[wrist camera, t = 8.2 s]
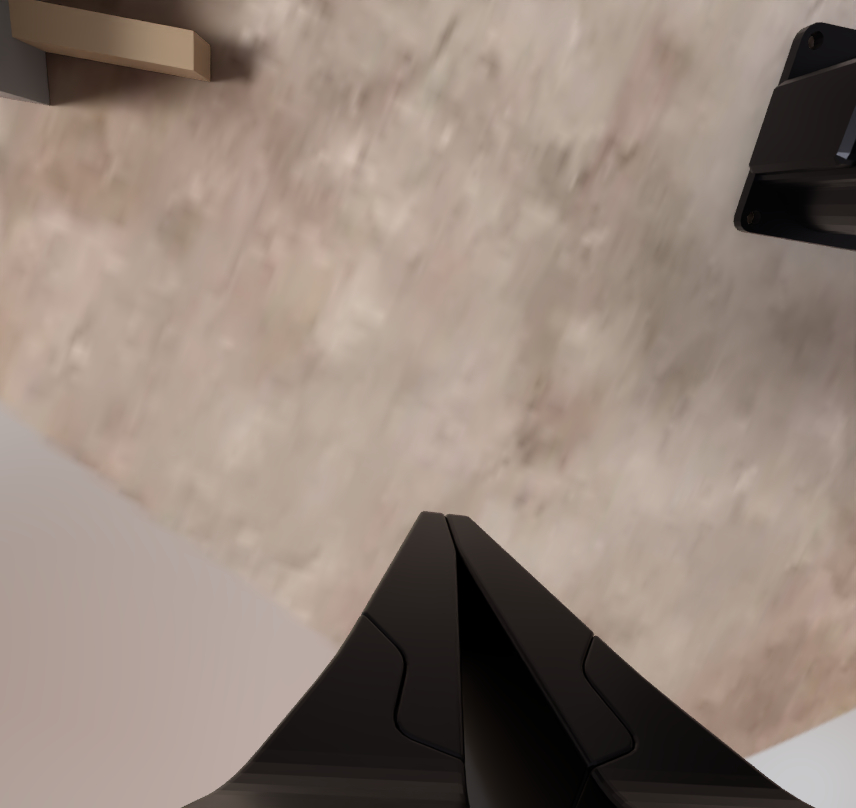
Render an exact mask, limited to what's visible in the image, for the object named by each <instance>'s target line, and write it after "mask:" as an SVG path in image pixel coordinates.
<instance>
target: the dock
mask: <svg viewBox="0 0 856 808" xmlns="http://www.w3.org/2000/svg"><path fill="white" fill-rule="evenodd" d="M45 52H50V53H55V54H61V55H66V56H71V57H77V58H82V59H88V60H93V61H99V62H104V63H110V64H115V65H121V66H126V67H132V68H137V69H143V70H148V71H154V72H159V73H164V74H170V75H175V76H181V77H186V78H192V79H197V80H203V81H208V82H210V53H211V46H210V45H209V44H208V43H207V42H206V41H204V40H203V39H202V38H201V37H200V36H199V35H198V34H196V33H195V32H194V31H192V30H186V29H181V28H176V27H171V26H166V25H161V24H155V23H150V22H145V21H140V20H135V19H129V18H124V17H119V16H114V15H109V14H103V13H98V12H93V11H88V10H83V9H77V8H72V7H67V6H62V5H57V4H52V3H46V2H41V0H0V97H3V98H9V99H14V100H20V101H26V102H32V103H38V104H43V105H49V106H50V101H49V90H48V78H47V67H46V55H45Z"/></svg>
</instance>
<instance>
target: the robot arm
mask: <svg viewBox="0 0 856 808" xmlns="http://www.w3.org/2000/svg"><path fill="white" fill-rule="evenodd" d="M810 36H812V37H813V38H814V46H813V48H812V49H811V48H809V45H808V40H809V37H810ZM749 167H750V171H749V174H748V177H747V180H746V183H745V186H744V189H743V192H742V195H741V198H740V200H739V203H738V206H737V209H736V212H735V215H734V225H735V227H736V228H737V230H739V231H741V232H746V233H752V234H758V235H764V236H770V237H775V238H781V239H787V240H793V241H799V242H805V243H811V244H816V245H822V246H828V247H834V248H840V249H846V250H852V251H856V30H854V29H849V28H845V27H840V26H836V25H831V24H827V23H822V22H820V23H814V24H812V25H810V26H807V27H805V28H803V29H801V30H800V31H799V32H798V33H797V35H796V36H795V38H794V40H793V43H792V46H791V49H790V52H789V55H788V58H787V61H786V64H785V67H784V70H783V73H782V76H781V79H780V81H779V84H778V86H777V87H776V88H775V89H774V91H773V94H772V97H771V100H770V103H769V106H768V109H767V112H766V115H765V118H764V121H763V124H762V127H761V130H760V133H759V136H758V139H757V142H756V145H755V148H754V151H753V154H752V157H751V160H750V163H749ZM750 212H753V214H754V218H753V220H752V222H751V223H750V224H748V222H747V217H748V215H749V213H750ZM593 636H594V633H593V632H592V631H591V630H590V629H589V628H588V627H587V626H586V625H585V624H584V623H583V622H582V621H581V620H579V619H578V618H577V617H576V616H575V615H574V614H573V613H572V612H571V611H570V610H569V609H568V608H567V607H565V606H564V605H563V604H562V603H561V602H560V601H559V600H558V599H557V598H556V597H555V596H554V595H553V594H551V593H550V592H549V591H548V590H547V589H546V588H545V587H544V586H543V585H542V584H541V583H540V582H538V581H537V580H536V579H535V578H534V577H533V576H532V575H531V574H530V573H529V572H528V571H527V570H526V569H524V568H523V567H522V566H521V565H520V564H519V563H518V562H517V561H516V560H515V559H514V558H513V557H512V556H510V555H509V554H508V553H507V552H506V551H505V550H504V549H503V548H502V547H501V546H500V545H499V544H497V543H496V542H495V541H494V540H493V539H492V538H491V537H490V536H489V535H488V534H487V533H486V532H485V531H483V530H482V529H481V528H480V527H479V526H478V525H477V524H476V523H475V522H474V521H473V520H472V519H471V518H469V517H468V516H463V515H454V514H447V515H446V516H444V514H442V513H436V512H427V511H423V512H421V513H420V515H419V516H418V518H417V520H416V521H415V523H414V525H413V527H412V528H411V530H410V532H409V533H408V535H407V537H406V539H405V540H404V542H403V544H402V545H401V547H400V549H399V551H398V552H397V554H396V556H395V557H394V559H393V561H392V562H391V564H390V566H389V568H388V569H387V571H386V573H385V574H384V576H383V578H382V580H381V581H380V583H379V585H378V586H377V588H376V590H375V592H374V593H373V595H372V597H371V598H370V600H369V602H368V604H367V605H366V607H365V609H364V610H363V612H362V614H361V616H360V617H359V618H358V620H357V622H356V624H355V625H354V627H353V629H352V630H351V632H350V634H349V635H348V637H347V638H346V640H345V641H344V643H343V644H342V646H341V647H340V649H339V651H338V652H337V654H336V655H335V656H334V658H333V659H332V660H331V662H330V663H329V664H328V666H327V667H326V668H325V670H324V671H323V672H322V673H321V675H320V676H319V677H318V679H317V680H316V681H315V682H314V684H313V685H312V686H311V687H310V688H309V690H308V691H307V692H306V693H305V694H304V696H303V697H302V698H301V699H300V700H299V702H298V703H297V704H296V705H295V706H294V708H293V709H292V710H291V711H290V712H289V713H288V715H287V716H286V717H285V718H284V720H283V721H282V722H281V723H280V724H279V725H278V727H277V728H276V729H275V730H274V732H273V733H272V734H271V735H270V736H269V737H268V739H267V740H266V741H265V742H264V743H263V745H262V746H261V747H260V748H259V750H258V751H257V752H256V753H255V754H254V755H253V756H252V757H251V759H250V760H249V761H248V762H247V763H246V764H245V765H244V766H243V767H242V768H241V769H240V770H239V771H238V772H237V773H236V774H235V775H234V776H233V777H232V778H231V779H230V780H229V781H227V782H226V783H225V784H224V785H222V786H221V787H220V788H218V789H217V790H215V791H214V792H212V793H211V794H209V795H207V796H205V797H203V798H200V799H199V800H196V801H194V802H192V803H190V804H188V805H186V806H184V807H182V808H815V807H813V806H811V805H809V804H807V803H805V802H803V801H801V800H800V799H798V798H796V797H795V796H793V795H792V794H790V793H789V792H787V791H785V790H784V789H782V788H781V787H780V786H778V785H777V784H776V783H774V782H773V781H772V780H770V779H769V778H768V777H766V776H765V775H764V774H762V773H761V772H760V771H759V770H757V769H756V768H755V767H754V766H752V765H751V764H750V763H749V762H747V761H746V760H745V759H744V758H742V757H741V756H740V755H739V754H737V753H736V752H735V751H734V750H732V749H731V748H730V747H729V746H727V745H726V744H725V743H724V742H722V741H721V740H720V739H719V738H717V737H716V736H715V735H714V734H712V733H711V732H710V731H709V730H707V729H706V728H705V727H704V726H702V725H701V724H700V723H699V722H697V721H696V720H695V719H694V718H692V717H691V716H690V715H689V714H687V713H686V712H685V711H684V710H682V709H681V708H680V707H679V706H677V705H676V704H675V703H674V702H673V701H671V700H670V699H669V698H668V697H666V696H665V695H664V694H663V693H662V692H660V691H659V690H658V689H657V688H656V687H654V686H653V685H652V684H651V683H650V682H648V681H647V680H646V679H645V678H643V677H642V676H641V675H640V674H639V673H638V672H637V671H636V670H634V669H633V668H632V667H631V666H630V665H629V664H628V663H627V662H625V661H624V660H623V659H622V658H621V657H620V656H619V655H618V654H616V653H615V652H614V651H613V650H612V649H611V648H610V647H609V646H608V645H607V644H606V643H605V642H603V641H602V640H601V639H600V638H599V637H598V636H594V637H593Z"/></svg>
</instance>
